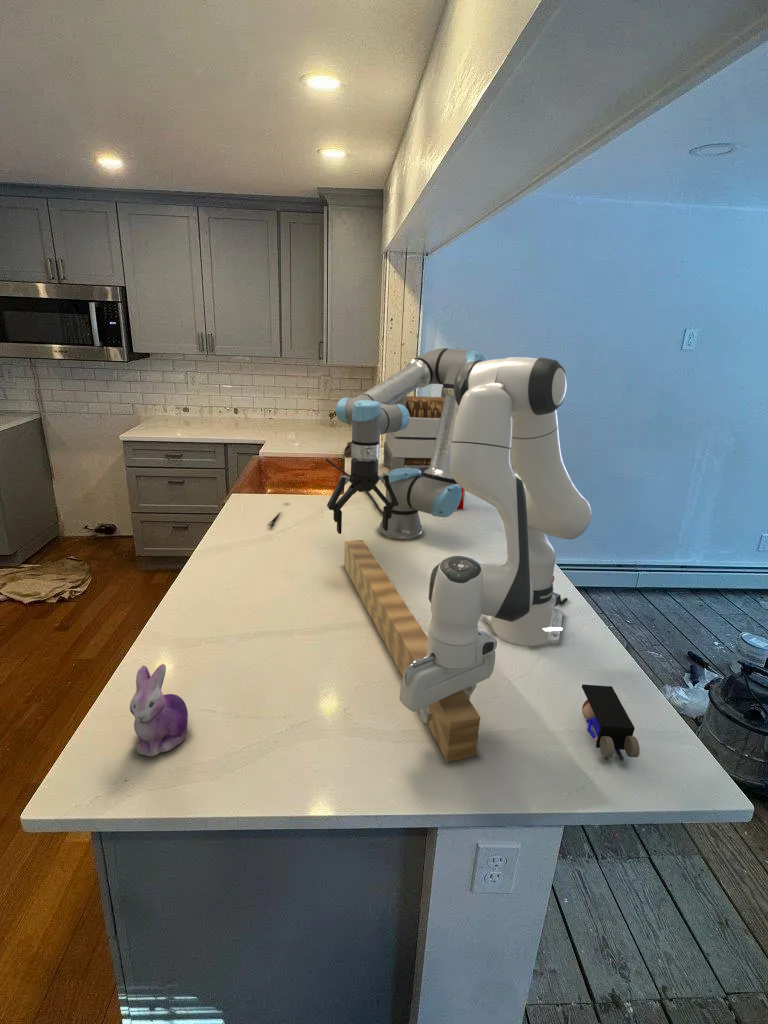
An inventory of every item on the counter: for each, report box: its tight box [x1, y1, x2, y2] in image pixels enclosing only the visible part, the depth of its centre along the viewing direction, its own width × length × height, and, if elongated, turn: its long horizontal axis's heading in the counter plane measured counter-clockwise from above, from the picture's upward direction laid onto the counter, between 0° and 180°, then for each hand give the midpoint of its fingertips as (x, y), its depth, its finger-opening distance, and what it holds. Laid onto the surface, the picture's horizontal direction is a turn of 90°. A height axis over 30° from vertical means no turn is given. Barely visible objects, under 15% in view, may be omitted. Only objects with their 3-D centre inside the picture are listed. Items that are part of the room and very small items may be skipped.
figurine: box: [129, 663, 189, 757], centre depth 99 cm, size 9×10×15 cm
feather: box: [266, 512, 281, 529], centre depth 211 cm, size 2×28×2 cm
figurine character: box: [581, 684, 641, 762], centre depth 105 cm, size 7×8×15 cm
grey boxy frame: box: [383, 386, 446, 471], centre depth 268 cm, size 34×33×41 cm
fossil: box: [343, 441, 352, 458], centre depth 305 cm, size 22×10×15 cm
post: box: [344, 539, 481, 763], centre depth 136 cm, size 81×6×9 cm, turn 17°
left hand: (362, 530), depth 162 cm, fingers open, 13 cm apart
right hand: (445, 710), depth 105 cm, fingers open, 8 cm apart
